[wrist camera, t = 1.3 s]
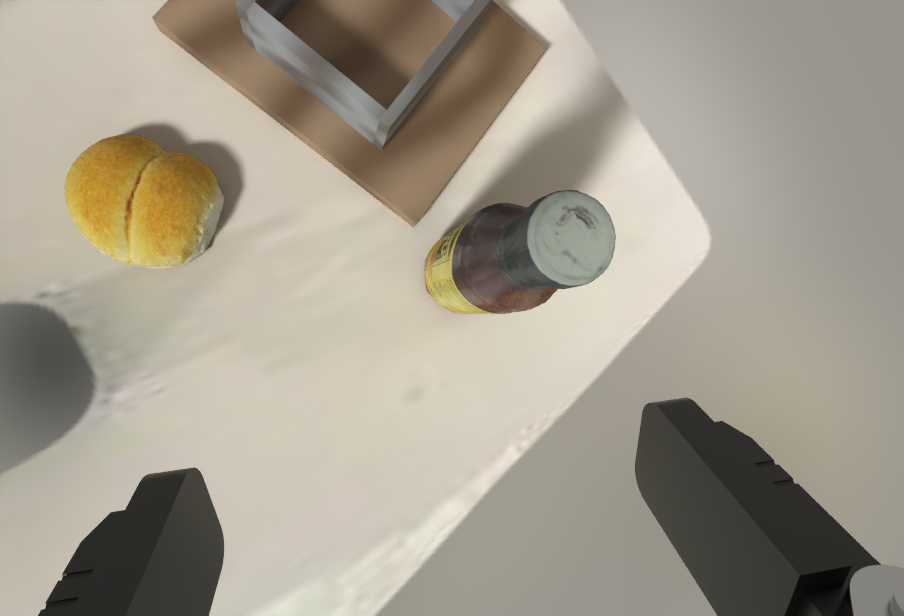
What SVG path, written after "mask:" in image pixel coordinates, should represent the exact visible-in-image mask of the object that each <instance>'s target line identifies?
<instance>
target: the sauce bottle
mask: <svg viewBox="0 0 904 616" xmlns="http://www.w3.org/2000/svg"><path fill="white" fill-rule="evenodd" d="M615 239H616V236H615V230H614V226H613V223H612V220H611V218H610V215H609V214H608V212H607V211H606V210H605V208H604V207H603V205H602V204H600V202H599V201H597V200H596V199H595V198H592V197H590V196H588V195H587V194H584V193H581V192H578V191H574V190H564V191H557V192H554V193H551V194H549V195H547V196H544V197H542V198H540V199H538V200H537V201H535V202H534V203H532V204H531V205H530V206H529V207H528V208H525V207H522V206H519V205H515V204H510V203H499V204H494V205H490V206H488V207H486V208H483V209H482V210H480V211H479V212H477V213H476V214H474V215H473V216H472V217H470V218H469V219H468V220H466V221H465V222H463V223H462V224H460V225H459V226H458V227H457V228H455V229H454V230H453V231H451V232H450V233H449V234H447V235H446V236H444V237H443V238H442V239H440V240H439V241H438V242H437V243H436V244H435V245H434V246H433V247H432V249H431V250H430V252H429V254H428V257H427V258H426V261H425V269H424V277H425V284H426V288H427V291H428V292H429V294H430V295H431V296H432V298H433V299H434V300H435V301H436V302H437V304H439V305H440V306H442V307H443V308H445V309H447V310H449V311H451V312H454V313H459V314H506V313H512V312H519V311H526V310H529V309H532V308H534V307H536V306H539V305H541V304H542V303H545V302H546V301H547V300H548V299H549V298H550V297H551V296H552V295H553V294H554V292H556V291H557V289H567V288H572V287H577V286H581V285H585V284H588V283H590V282H591V281H593V280H595V279H596V278H597V277H599V276H600V275H601V274H603V273H604V271H605V270H606V269H607V267H608V266H609V264H610V262H611V260H612V257H613V252H614V249H615Z"/></svg>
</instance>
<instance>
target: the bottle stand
mask: <svg viewBox="0 0 904 616" xmlns="http://www.w3.org/2000/svg"><path fill="white" fill-rule="evenodd" d="M152 18H153V20H154V21H155V23H156V25H157V27H158V29H159V30H160V31H161V32H162V33H164V34H165V35H166V36H167V37H169V38H170V39H171V40H173V41H174V42H175V43H177V44H178V45H179V46H180V47H182V48H183V49H184V50H186V51H187V52H188V53H189V54H191V55H192V56H193V57H195V58H196V59H197V60H198V61H200V62H201V63H202V64H204V65H205V66H206V67H207V68H209V69H210V70H211V71H213V72H214V73H215V74H217V75H218V76H219V77H220V78H222V79H223V80H224V81H226V82H227V83H228V84H229V85H231V86H232V87H233V88H235V89H236V90H237V91H238V92H240V93H241V94H242V95H244V96H245V97H246V98H248V99H249V100H250V101H251V102H253V103H254V104H255V105H257V106H258V107H259V108H260V109H262V110H263V111H264V112H266V113H267V114H268V115H269V116H271V117H272V118H273V119H275V120H276V121H277V122H278V123H280V124H281V125H282V126H284V127H285V128H286V129H288V130H289V131H290V132H291V133H293V134H294V135H295V136H297V137H298V138H299V139H300V140H302V141H303V142H304V143H306V144H307V145H308V146H309V147H311V148H312V149H313V150H315V151H316V152H317V153H318V154H320V155H321V156H322V157H324V158H325V159H326V160H328V161H329V162H330V163H331V164H333V165H334V166H335V167H337V168H338V169H339V170H340V171H342V172H343V173H344V174H346V175H347V176H348V177H349V178H351V179H352V180H353V181H355V182H356V183H357V184H358V185H360V186H361V187H362V188H364V189H365V190H366V191H368V192H369V193H370V194H371V195H373V196H374V197H375V198H377V199H378V200H379V201H380V202H382V203H383V204H384V205H386V206H387V207H388V208H389V209H391V210H392V211H393V212H395V213H396V214H397V215H399V216H400V217H401V218H402V219H404V220H405V221H406V222H408V223H409V224H410V225H411V226H413V227H414V226H415V225H416V224H417V223H418V221H419V220H420V218H421V217H422V216H423V214H424V213H425V212H426V210H427V209H428V208H429V206H430V205H431V204H432V202H433V201H434V200H435V198H436V197H437V196H438V194H439V193H440V192H441V190H442V189H443V188H444V186H445V185H446V184H447V182H448V181H449V179H450V178H451V177H452V175H453V174H454V173H455V171H456V170H457V169H458V167H459V166H460V165H461V163H462V162H463V161H464V159H465V158H466V157H467V155H468V154H469V153H470V151H471V150H472V149H473V147H474V146H475V144H476V143H477V142H478V140H479V139H480V138H481V136H482V135H483V134H484V132H485V131H486V130H487V128H488V127H489V126H490V124H491V123H492V122H493V120H494V119H495V118H496V116H497V115H498V114H499V112H500V111H501V109H502V108H503V107H504V105H505V104H506V103H507V101H508V100H509V99H510V97H511V96H512V95H513V93H514V92H515V91H516V89H517V88H518V87H519V85H520V84H521V83H522V81H523V80H524V79H525V77H526V76H527V74H528V73H529V72H530V70H531V69H532V68H533V66H534V65H535V64H536V62H537V61H538V60H539V58H540V57H541V56H542V54H543V53H544V52H545V50H546V49H545V48H544V47H543V46H542V45H541V44H540V43H539V42H538V41H536V40H535V39H534V38H533V37H532V36H531V35H530V34H529V33H528V32H527V31H525V30H524V29H523V28H522V27H521V26H520V25H519V24H518V23H517V22H515V21H514V20H513V19H512V18H511V17H510V16H509V15H508V14H507V13H506V12H504V11H503V10H502V9H501V8H500V7H499V6H498V5H497V4H496V3H495V2H493V1H492V0H168V1H167V2H166V3H165V4H164V5H163V6H162V8H161V9H160V10H159V11H158V12H157V13H156V14H155V15H154V16H153V17H152Z"/></svg>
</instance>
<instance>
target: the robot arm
mask: <svg viewBox="0 0 904 616" xmlns="http://www.w3.org/2000/svg"><path fill="white" fill-rule="evenodd" d="M635 474H636V480H637V484H638V487H639V490H640V492H641V495H642V497H643V498H644V500H645V502H646V503H647V505H648V507H649V508H650V510H651V511H652V513H653V515H654V516H655V518H656V519H657V521H658V522H659V524H660V525H661V527H662V528H663V530H664V532H665V533H666V535H667V536H668V538H669V540H670V541H671V543H672V545H673V546H674V548H675V549H676V551H677V552H678V554H679V555H680V557H681V559H682V560H683V562H684V563H685V565H686V567H687V568H688V569H689V571H690V573H691V574H692V576H693V578H694V579H695V580H696V582H697V584H698V586H699V587H700V589H701V590H702V592H703V593H704V595H705V596H706V598H707V600H708V601H709V603H710V604H711V606H712V608H713V609H714V611H715V612H716V614H717V616H904V569H903V568H899V567H894V566H888V565H881V564H880V563H879V562H878V561H877V560H876V559H874V558H873V557H872V556H871V555H870V554H869V553H868V552H867V551H866V550H865V549H864V548H863V547H862V546H861V545H860V544H859V543H858V542H857V541H856V540H855V539H854V538H853V537H852V536H851V535H850V534H849V533H848V532H847V531H846V530H845V529H844V528H843V527H842V526H841V525H840V524H839V523H838V522H837V521H836V520H835V519H833V517H832V516H830V515H829V514H828V513H827V512H826V511H825V510H824V509H823V508H822V507H821V506H820V505H819V504H818V503H817V502H816V501H815V500H814V499H813V498H812V497H811V496H810V495H809V494H808V493H807V492H806V491H805V490H804V489H803V488H802V487H801V486H800V485H799V484H794V482H793V478H792V477H791V476H790V475H789V474H788V473H787V472H786V471H785V470H784V469H782V467H780V465H775V463H774V460H773V459H772V458H771V457H770V456H769V455H768V454H767V453H766V452H765V451H764V450H763V449H762V448H761V447H760V446H759V445H758V444H757V443H756V442H755V441H754V440H753V439H752V438H751V437H749V436H747V435H745V434H744V433H742V432H740V431H738V430H737V429H735V428H733V427H732V426H730V425H728V424H726V423H725V422H723V421H720V422H714V421H713V420H712V419H711V418H710V417H709V416H708V415H707V414H706V413H705V412H704V411H703V410H702V409H701V408H700V407H699V406H698V405H697V404H696V403H695V402H694V401H693V400H691V399H689V398H681V399H673V400H666V401H660V402H653V403H648V404H646V405H645V407H644V409H643V412H642V420H641V427H640V433H639V440H638V448H637V454H636V461H635ZM223 558H224V538H223V532H222V528H221V525H220V523H219V520H218V517H217V514H216V512H215V509H214V506H213V504H212V501H211V498H210V495H209V493H208V490H207V487H206V484H205V482H204V479H203V476H202V474H201V472H200V471H199V470H198V469H197V468H188V469H181V470H174V471H168V472H161V473H154V474H148V475H146V476H145V477H144V478H143V479H142V480H141V481H140V483H139V485H138V487H137V489H136V490H135V492H134V494H133V496H132V498H131V500H130V502H129V504H128V505H127V507H126V509H125V510H123V511H117V512H111V513H110V514H109V515H108V516H107V517H106V518H105V519H104V520H103V521H102V522H101V523H100V524H99V525H98V526H97V527H96V528H95V529H94V530H93V531H92V532H91V533H90V534H89V535H88V536H87V537H86V538H85V539H84V540H83V541H82V542H81V543H80V545H79V547H78V548H77V550H76V552H75V553H74V555H73V557H72V559H71V560H70V562H69V564H68V565H67V567H66V569H65V570H64V572H63V574H62V575H63V578H62V580H61V581H58V582H57V584H56V586H55V588H54V589H53V591H52V593H51V594H50V596H49V598H48V599H47V601H46V608H45V609H44V610H41V611H40V613H39V615H38V616H209V612H210V609H211V605H212V602H213V598H214V594H215V591H216V587H217V584H218V580H219V577H220V573H221V569H222V565H223Z"/></svg>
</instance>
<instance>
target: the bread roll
mask: <svg viewBox="0 0 904 616" xmlns="http://www.w3.org/2000/svg"><path fill="white" fill-rule="evenodd" d="M65 200H66V204H67V207H68V210H69V213H70V215H71V217H72V219H73V221H74V223H75V225H76V227H77V228H78V230H79V231H80V232H81V234H82V235H83V236H84V237H85V238H86V239H87V240H88V241H89V242H90V243H91V244H92V245H93V246H94V247H95V248H97V249H98V250H99V251H101V252H102V253H104V254H105V255H107V256H109V257H111V258H113V259H115V260H118V261H120V262H125V263H130V264H134V265H137V266H142V267H146V268H153V269H166V268H173V267H180V266H183V265H186V264H188V263H189V262H191V261H192V260H194V259H195V258H196V257H198V256H199V255H200V254H202V253H203V252H204V251H205V249H206V248H207V246H208V244H209V242H210V240H211V238H212V236H213V235H214V233H215V230H216V227H217V224H218V222H219V218H220V214H221V212H222V208H223V206H224V196H223V194H222V192H221V190H220V188H219V186H218V183H217V180H216V177H215V175H214V174H213V172H212V171H211V170H210V169H209V168H208V167H207V166H206V165H205V164H203V163H202V162H201V161H200V160H198V159H197V158H195V157H193V156H191V155H188V154H185V153H181V152H171V153H168V152H166V151H164V150H163V149H161V148H160V147H159V146H158V145H157V144H156V143H154V142H153V141H151V140H149V139H147V138H144V137H141V136H138V135H118V136H114V137H109V138H106V139H102V140H100V141H99V142H97V143H95V144H94V145H92V146H91V147H89V148H88V149H87V150H85V151H84V152H83V153H82V154H81V155H80V156H79V157H78V158H77V159H76V161H75V162H74V163H73V165H72V166H71V168H70V170H69V172H68V174H67V177H66V181H65Z"/></svg>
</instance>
